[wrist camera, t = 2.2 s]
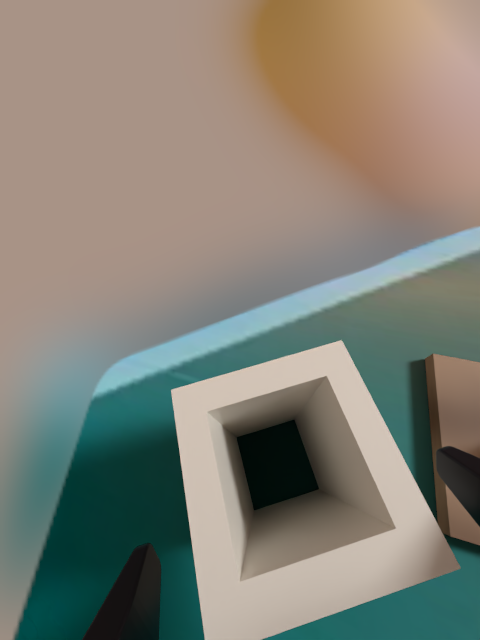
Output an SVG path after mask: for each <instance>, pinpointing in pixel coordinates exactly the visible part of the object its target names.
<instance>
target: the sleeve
mask: <svg viewBox="0 0 480 640" xmlns="http://www.w3.org/2000/svg"><path fill="white" fill-rule="evenodd" d="M171 393H172V401H173V408H174V415H175V423H176V430H177V437H178V445H179V452H180V460H181V467H182V474H183V482H184V489H185V496H186V504H187V511H188V518H189V526H190V533H191V541H192V548H193V555H194V563H195V570H196V577H197V585H198V592H199V600H200V607H201V614H202V622H203V629H204V636H205V640H261V639H264V638H267V637H270V636H272V635H275V634H278V633H281V632H284V631H287V630H289V629H292V628H295V627H298V626H301V625H303V624H306V623H309V622H312V621H315V620H317V619H320V618H323V617H326V616H329V615H331V614H334V613H337V612H340V611H343V610H345V609H348V608H351V607H354V606H357V605H359V604H362V603H365V602H368V601H371V600H373V599H376V598H379V597H382V596H385V595H388V594H390V593H393V592H396V591H399V590H402V589H404V588H407V587H410V586H413V585H416V584H418V583H421V582H424V581H427V580H430V579H432V578H435V577H438V576H441V575H444V574H446V573H449V572H452V571H455V570H458V569H460V566H459V564H458V562H457V560H456V558H455V556H454V554H453V552H452V550H451V549H450V547H449V545H448V543H447V541H446V539H445V537H444V535H443V533H442V531H441V529H440V528H439V526H438V524H437V522H436V520H435V518H434V516H433V514H432V512H431V510H430V508H429V506H428V505H427V503H426V501H425V499H424V497H423V495H422V493H421V491H420V489H419V487H418V485H417V483H416V482H415V480H414V478H413V476H412V474H411V472H410V470H409V468H408V466H407V464H406V462H405V460H404V459H403V457H402V455H401V453H400V451H399V449H398V447H397V445H396V443H395V441H394V439H393V437H392V436H391V434H390V432H389V430H388V428H387V426H386V424H385V422H384V420H383V418H382V416H381V415H380V413H379V411H378V409H377V407H376V405H375V403H374V401H373V399H372V397H371V395H370V393H369V392H368V390H367V388H366V386H365V384H364V382H363V380H362V378H361V376H360V374H359V372H358V370H357V369H356V367H355V365H354V363H353V361H352V359H351V357H350V355H349V353H348V351H347V349H346V347H345V346H344V344H343V342H342V340H341V341H337V342H334V343H330V344H327V345H324V346H320V347H317V348H313V349H310V350H306V351H303V352H300V353H296V354H293V355H289V356H286V357H282V358H279V359H275V360H272V361H269V362H265V363H262V364H258V365H255V366H251V367H248V368H245V369H241V370H238V371H234V372H231V373H227V374H224V375H221V376H217V377H214V378H210V379H207V380H203V381H200V382H196V383H193V384H190V385H186V386H183V387H179V388H176V389H172V390H171ZM291 420H295V423H296V425H297V428H298V431H299V434H300V437H301V439H302V442H303V445H304V448H305V451H306V453H307V456H308V459H309V462H310V465H311V467H312V470H313V473H314V476H315V479H316V481H317V484H318V487H319V489H318V490H315V491H312V492H309V493H306V494H303V495H300V496H297V497H294V498H291V499H288V500H285V501H282V502H278V503H275V504H272V505H269V506H266V507H263V508H260V509H257V510H254V508H253V504H252V499H251V495H250V491H249V487H248V483H247V479H246V475H245V471H244V466H243V462H242V458H241V454H240V450H239V446H238V442H237V437H239V436H243V435H246V434H249V433H252V432H256V431H259V430H262V429H265V428H269V427H272V426H275V425H278V424H282V423H285V422H288V421H291Z"/></svg>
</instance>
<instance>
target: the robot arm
mask: <svg viewBox="0 0 480 640" xmlns="http://www.w3.org/2000/svg"><path fill="white" fill-rule="evenodd" d="M436 469H437V472H438V474H439V476H440V478H441V479H442V480H443V482H444V483H445V484H446V485H447V487H448V488H449V489H450V490H451V492H452V493H453V494H454V495H455V497H456V498H457V499H458V500H459V502H460V503H461V504H462V506H463V507H464V508H465V509H466V511H467V512H468V513H469V514H470V516H471V517H472V518H473V519H474V521H475V522H476V523H477V524H478V526H479V527H480V458H479V457H476V456H474V455H472V454H469V453H467V452H464V451H462V450H460V449H457V448H455V447H452V446H446V447H442V448H439V449H437V451H436ZM160 587H161V564H160V560H159V558H158V556H157V554H156V552H155V550H154V548H153V546H152V544H150V543H146V544H143V545H140V546H138V547H136V548H135V549H134V551H133V552H132V554H131V556H130V557H129V559H128V561H127V563H126V564H125V566H124V568H123V570H122V571H121V573H120V575H119V577H118V578H117V580H116V582H115V583H114V585H113V587H112V589H111V590H110V592H109V594H108V596H107V597H106V599H105V601H104V603H103V604H102V606H101V608H100V610H99V611H98V613H97V615H96V617H95V618H94V620H93V622H92V623H91V625H90V627H89V629H88V630H87V632H86V634H85V636H84V637H83V639H82V640H159V617H160Z"/></svg>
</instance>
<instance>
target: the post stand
mask: <svg viewBox="0 0 480 640" xmlns="http://www.w3.org/2000/svg"><path fill="white" fill-rule="evenodd" d="M425 365H426V377H427V390H428V403H429V416H430V429H431V442H432V455H433V467H434V480H435V493H436V506H437V519H438V526H439V528H440V529H441V531H442V533H443V534H446V535H448V536H451V537H454V538H457V539H461V540H464V541H467V542H470V543H474V544H477V545H480V527H479V526H478V524H477V523H476V522H475V521H474V519H473V518H472V517H471V516H470V514H469V513H468V512H467V511H466V509H465V508H464V507H463V506H462V504H461V503H460V502H459V500H458V499H457V498H456V497H455V495H454V494H453V493H452V492H451V490H450V489H449V488H448V487H447V485H446V484H445V483H444V482H443V480H442V479H441V478H440V476H439V474H438V472H437V469H436V451H437V449H439V448H442V447H446V446H452V447H455V448H457V449H460V450H462V451H464V452H467V453H469V454H472V455H474V456H476V457H479V458H480V362H474V361H469V360H464V359H458V358H453V357H448V356H443V355H437V354H432V355H430V356H429V357H427V358H426V359H425Z"/></svg>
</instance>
